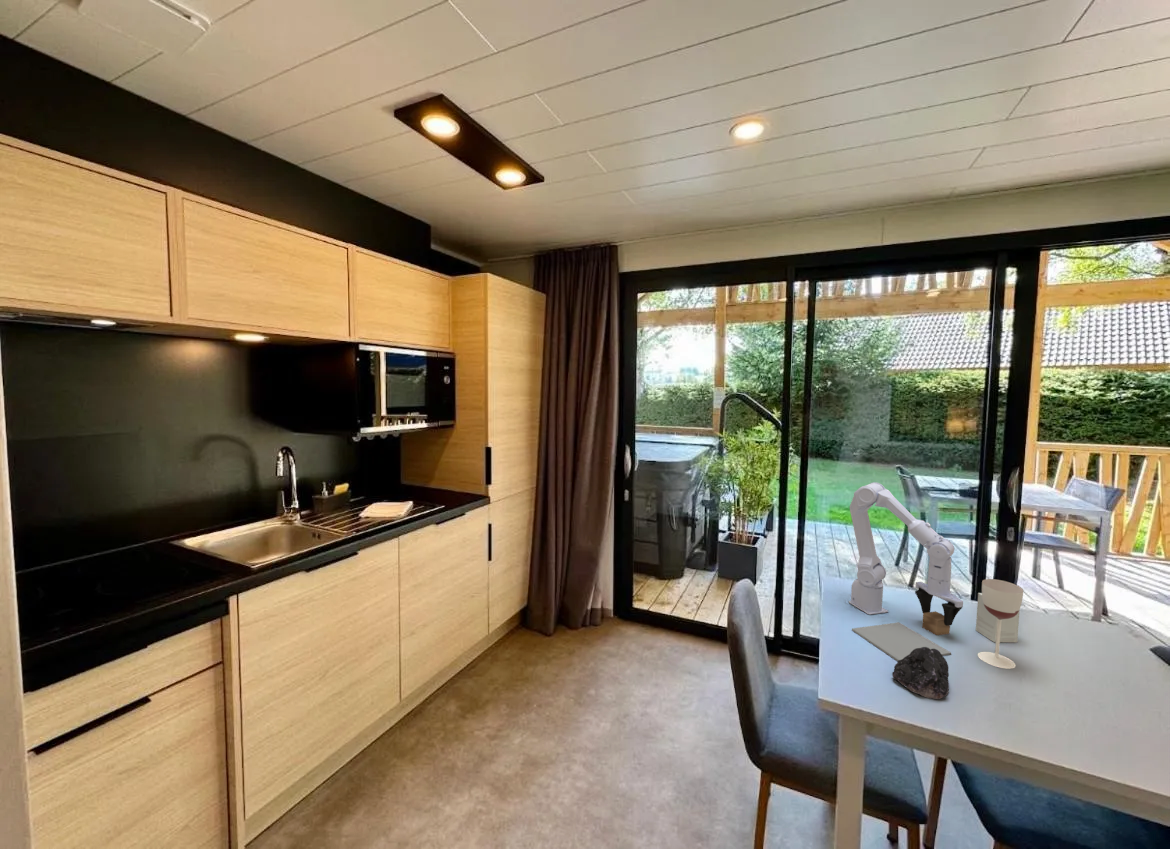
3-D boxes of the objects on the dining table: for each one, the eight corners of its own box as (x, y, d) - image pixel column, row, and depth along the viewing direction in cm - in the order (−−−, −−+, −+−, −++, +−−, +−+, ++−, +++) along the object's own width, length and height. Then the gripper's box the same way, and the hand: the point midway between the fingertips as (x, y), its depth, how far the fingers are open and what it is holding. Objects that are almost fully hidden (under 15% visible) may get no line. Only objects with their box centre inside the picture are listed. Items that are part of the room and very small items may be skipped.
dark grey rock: (905, 700, 122) (912, 665, 120) (880, 664, 135) (886, 633, 133) (962, 708, 120) (971, 673, 118) (931, 671, 133) (938, 639, 131)
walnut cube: (922, 627, 155) (923, 612, 155) (934, 625, 156) (935, 611, 156) (936, 635, 150) (937, 620, 150) (949, 633, 152) (950, 618, 151)
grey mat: (851, 630, 154) (851, 628, 154) (898, 623, 158) (898, 622, 157) (899, 662, 136) (899, 660, 136) (951, 654, 140) (951, 652, 140)
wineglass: (981, 664, 135) (987, 589, 133) (972, 647, 144) (978, 576, 141) (1021, 673, 131) (1028, 596, 129) (1010, 655, 139) (1017, 582, 137)
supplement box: (1018, 642, 146) (1021, 603, 145) (993, 642, 146) (996, 603, 145) (998, 630, 153) (1001, 592, 152) (974, 630, 154) (977, 592, 152)
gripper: (972, 586, 146) (969, 628, 147) (928, 567, 160) (926, 607, 161) (953, 588, 144) (950, 631, 145) (911, 569, 158) (909, 609, 159)
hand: (936, 618), depth 153 cm, fingers open, 7 cm apart
